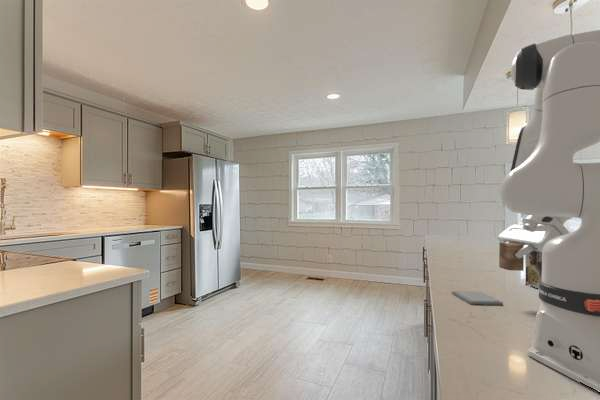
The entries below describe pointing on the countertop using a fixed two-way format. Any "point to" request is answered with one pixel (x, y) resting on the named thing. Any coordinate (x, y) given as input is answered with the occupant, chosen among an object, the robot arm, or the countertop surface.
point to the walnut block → (510, 257)
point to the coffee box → (533, 268)
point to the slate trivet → (477, 298)
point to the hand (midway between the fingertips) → (509, 255)
